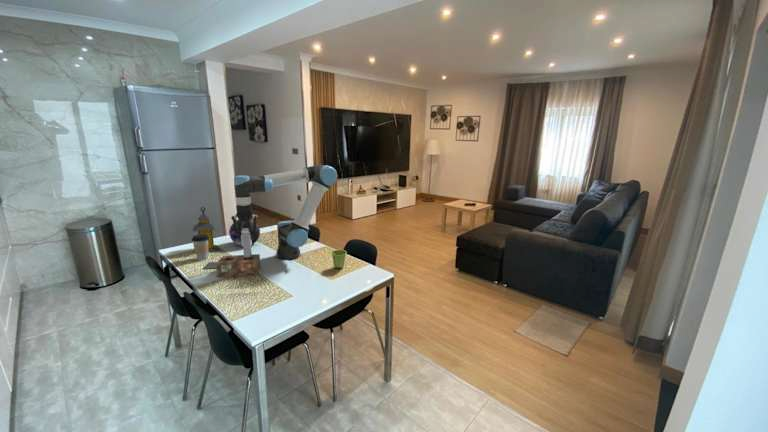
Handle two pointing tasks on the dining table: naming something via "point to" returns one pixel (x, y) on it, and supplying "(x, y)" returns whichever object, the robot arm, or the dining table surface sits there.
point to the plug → (246, 242)
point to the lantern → (206, 230)
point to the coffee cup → (201, 246)
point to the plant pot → (338, 257)
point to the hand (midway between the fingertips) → (247, 245)
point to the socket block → (238, 265)
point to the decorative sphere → (236, 236)
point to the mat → (210, 265)
